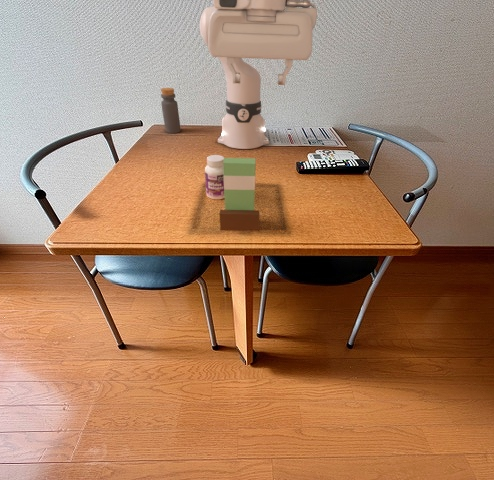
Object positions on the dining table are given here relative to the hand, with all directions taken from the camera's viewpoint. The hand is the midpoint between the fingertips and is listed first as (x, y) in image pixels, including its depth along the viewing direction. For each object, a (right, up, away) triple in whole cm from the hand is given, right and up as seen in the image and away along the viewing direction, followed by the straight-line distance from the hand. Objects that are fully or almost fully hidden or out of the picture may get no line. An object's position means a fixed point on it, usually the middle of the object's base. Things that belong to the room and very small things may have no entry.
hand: (258, 83), depth 60 cm
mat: (-4, -25, +9) cm, 27 cm away
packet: (-4, -29, +2) cm, 29 cm away
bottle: (-33, +10, +53) cm, 64 cm away
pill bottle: (-10, -22, +11) cm, 27 cm away
